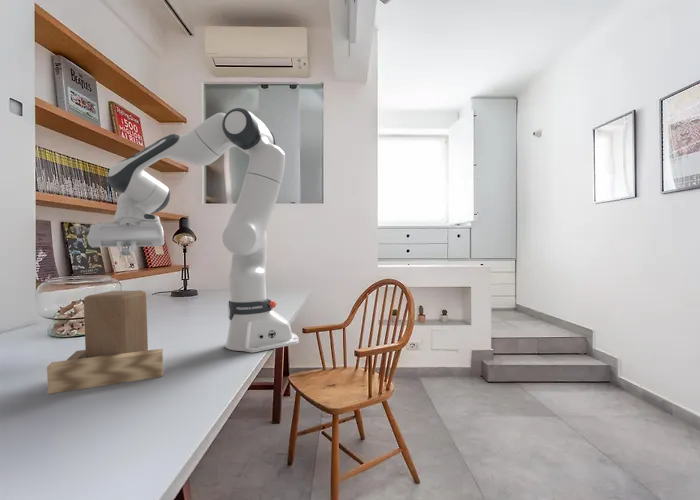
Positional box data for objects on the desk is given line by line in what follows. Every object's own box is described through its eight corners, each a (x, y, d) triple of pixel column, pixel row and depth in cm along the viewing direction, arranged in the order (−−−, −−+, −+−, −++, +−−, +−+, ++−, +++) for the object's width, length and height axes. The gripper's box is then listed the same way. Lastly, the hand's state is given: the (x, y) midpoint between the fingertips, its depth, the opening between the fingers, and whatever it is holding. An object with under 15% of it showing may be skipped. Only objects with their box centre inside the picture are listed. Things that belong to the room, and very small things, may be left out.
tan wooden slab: (165, 362, 96) (165, 340, 95) (162, 376, 86) (161, 352, 85) (65, 376, 87) (64, 352, 87) (48, 393, 77) (46, 366, 77)
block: (124, 378, 85) (121, 295, 84) (84, 378, 85) (81, 296, 85) (150, 364, 95) (147, 290, 94) (114, 364, 95) (111, 290, 95)
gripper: (89, 215, 108) (80, 247, 99) (164, 216, 116) (162, 246, 107) (93, 230, 112) (85, 262, 103) (165, 230, 120) (164, 260, 112)
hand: (125, 254), depth 105 cm, fingers closed
